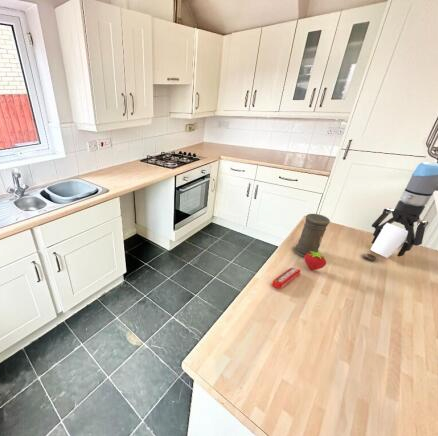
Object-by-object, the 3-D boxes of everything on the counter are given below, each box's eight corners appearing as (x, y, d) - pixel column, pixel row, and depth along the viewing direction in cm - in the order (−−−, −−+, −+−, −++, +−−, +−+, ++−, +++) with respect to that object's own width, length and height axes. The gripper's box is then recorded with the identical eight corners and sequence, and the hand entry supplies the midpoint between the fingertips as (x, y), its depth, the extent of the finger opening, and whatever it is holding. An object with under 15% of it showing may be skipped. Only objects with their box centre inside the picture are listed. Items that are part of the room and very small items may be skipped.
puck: (377, 260, 104) (378, 258, 103) (370, 262, 103) (371, 260, 102) (367, 254, 107) (368, 252, 107) (360, 256, 106) (361, 254, 106)
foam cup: (386, 258, 99) (409, 231, 95) (362, 246, 107) (382, 220, 103) (395, 261, 103) (418, 235, 99) (372, 249, 111) (392, 225, 107)
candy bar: (291, 270, 100) (293, 264, 98) (300, 274, 97) (302, 269, 96) (269, 286, 92) (270, 280, 90) (278, 292, 89) (280, 286, 88)
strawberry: (318, 278, 95) (327, 258, 90) (298, 269, 100) (305, 249, 95) (324, 271, 98) (332, 251, 93) (304, 262, 103) (311, 243, 99)
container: (297, 257, 107) (309, 222, 98) (292, 245, 114) (302, 212, 106) (320, 260, 105) (334, 224, 96) (313, 248, 112) (326, 214, 104)
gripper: (375, 193, 103) (354, 237, 114) (443, 216, 85) (411, 266, 96) (387, 191, 105) (366, 234, 116) (456, 212, 87) (423, 262, 97)
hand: (386, 249), depth 106 cm, fingers closed on foam cup, 9 cm apart
